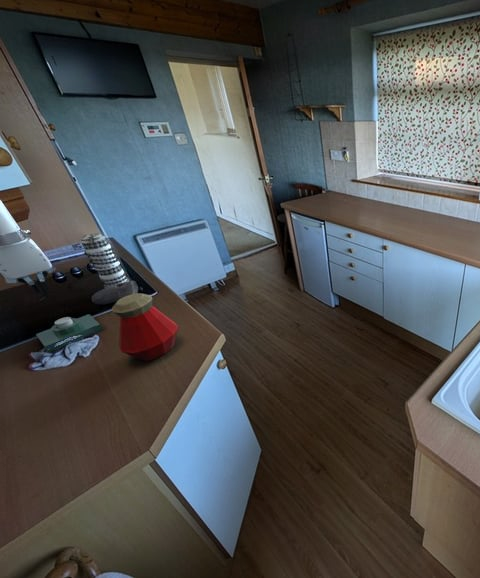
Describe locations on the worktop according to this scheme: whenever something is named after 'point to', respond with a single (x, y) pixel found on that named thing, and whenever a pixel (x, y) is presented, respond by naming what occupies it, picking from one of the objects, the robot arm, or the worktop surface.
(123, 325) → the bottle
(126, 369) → the worktop surface
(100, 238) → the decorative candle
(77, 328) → the green flat block
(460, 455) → the worktop surface
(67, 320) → the pump button
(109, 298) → the perforated stone tool
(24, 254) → the robot arm
